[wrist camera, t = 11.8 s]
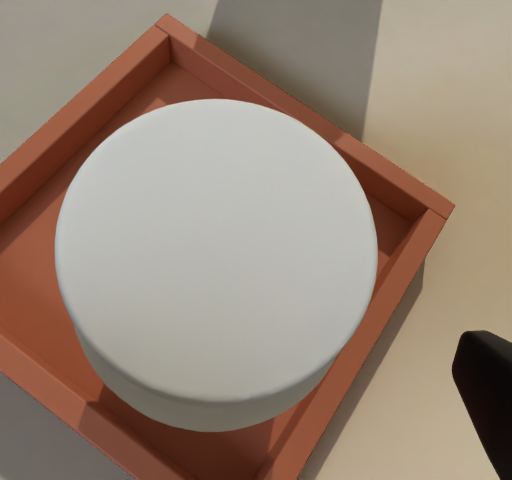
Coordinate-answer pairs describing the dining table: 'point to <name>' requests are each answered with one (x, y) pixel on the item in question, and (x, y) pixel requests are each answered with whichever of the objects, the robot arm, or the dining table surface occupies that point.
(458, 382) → the robot arm
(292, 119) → the pill bottle
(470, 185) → the dining table surface
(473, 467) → the dining table surface
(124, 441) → the terracotta tray
